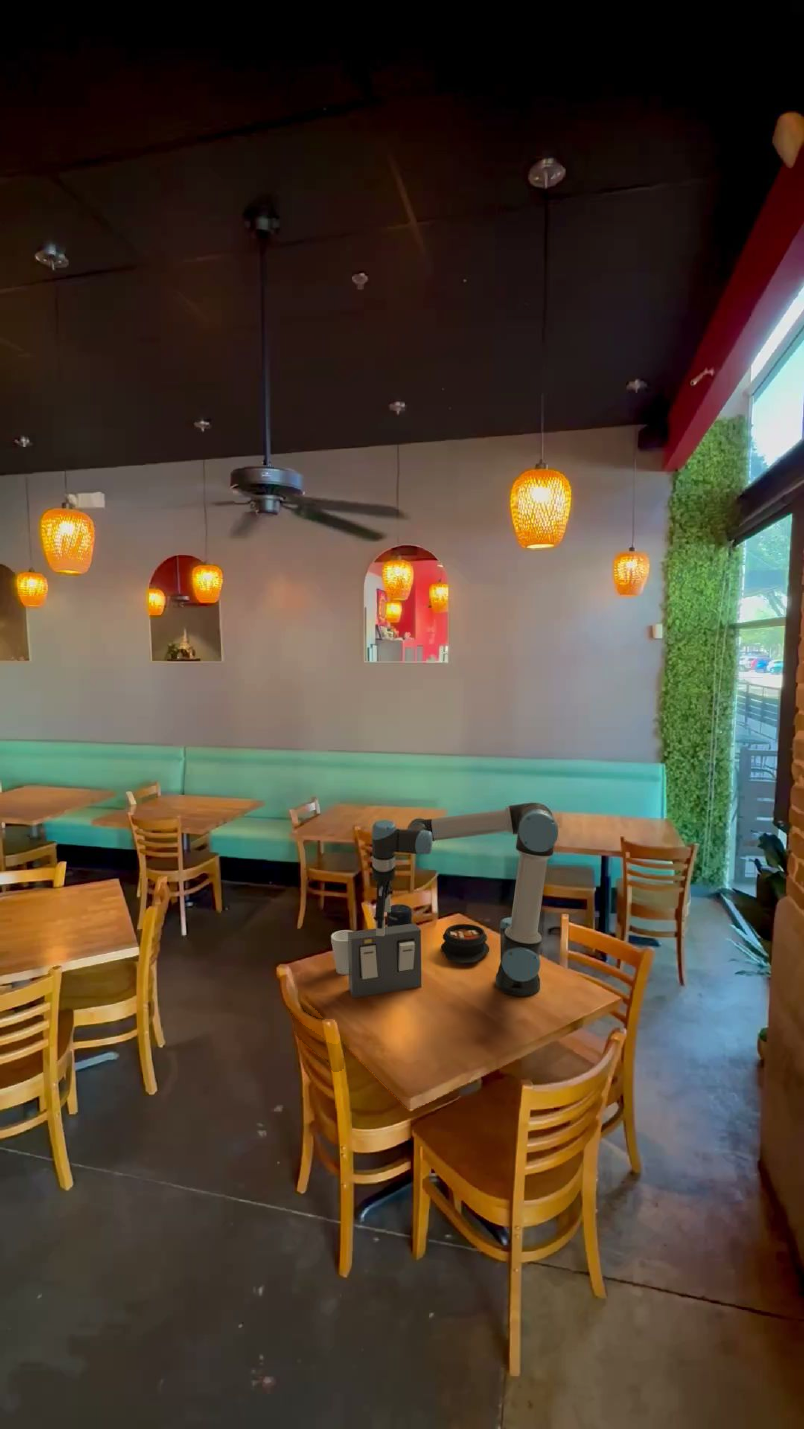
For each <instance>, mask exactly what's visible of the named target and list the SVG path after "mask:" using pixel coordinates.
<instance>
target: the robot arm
mask: <svg viewBox="0 0 804 1429" xmlns="http://www.w3.org/2000/svg"><path fill="white" fill-rule="evenodd" d="M371 830H372V832H371V854H372V855H371V856H370V859H371V861H372V862H371V863H372V864H371V866H372V868H371V876H372V879H373V880H374V881H376V882H377V883H376V891H375V892H376V898H375V899H376V900H375V912H374V916H373V920H374V921H375V929H376V936H384V935H385V927H386V924H385V923H386V922H385V921H386V920H385V913H387V912H389V913H390V912H391V906H392V904H391V903H392V902H391V898H392V897H391V896H392V895H393V894H394V890H392V881H393V880H394V879H395V877H396V853H401V854H413V855H419V856H422V855H431V853H432V851H433V850H432V849H433V842H435V841H443V840H445V841H447V840H452V839H460V838H469V837H470V838H471V837H477V836H486V835H487V836H488V835H495V834H496V835H497V834H504V833H509V834H511V835H516V843H515V844H516V845H515V850H516V851H517V853H518V854H519V857H518V866H517V872H516V873H517V874H516V880H515V888H514V897H513V903H512V911H511V917H505V918H503V919H502V920H500V926H499V929H500V933H499V936H500V937H499V938H500V940H499V941H500V945H499V946H500V947H499V948H500V962H499V966H498V969H497V973H496V974H495V981H494V983H495V987H496V988H497V989H498V991H500V992H502V993H503V994H506V995H509V996H513V997H515V996H516V997H528V996H532V995H533V996H534V994H537V993H538V992H539V991H540V989H541V978H540V975H539V972H540V969H541V960H540V951H541V946H542V938H543V937H542V935H541V934H540V933H539V932H538V931H539V930H538V929H539V924H540V915H541V909H542V908H541V907H542V903H543V895H544V888H545V885H544V884H545V881H546V880H545V878H546V874H547V866H548V865H547V863H548V860H549V858H551V857H552V856H554V851H555V844H556V842H557V840H558V838H559V826H558V821H557V820H556V819H555V817H554V816H553V813H552V812H551V810H550V808H548V807H547V806H546V805H544V804H543V803H539V802H525V803H520V804H519V803H518V804H513V805H508V806H506V808H505V809H498V810H491V811H483V812H482V811H481V812H475V813H474V812H473V813H466V814H459V815H452V816H451V815H450V816H443V817H437V818H428V819H425V818H423V817H416V818H414V819H413V820H411V822H409V824H408V826H407V829H404V828H397V827H396V824H395V822H394V821H392V820H388V819H380V820H378V821H375V822H374V824H373V825H372V829H371Z"/></svg>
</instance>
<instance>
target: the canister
mask: <svg viewBox="0 0 804 1429" xmlns="http://www.w3.org/2000/svg"><path fill="white" fill-rule="evenodd" d="M412 919H413V916H412V908H411V907H410V906H409V905H406V904H401V903H399V904H398V903H396V904H393V905H392V904H391V912H390V913H389V912H386V922H387V923H386V924H387V926H386V927H391V926H399V925H406V924H413V923H412V922H413V920H412Z"/></svg>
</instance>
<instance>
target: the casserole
mask: <svg viewBox="0 0 804 1429" xmlns="http://www.w3.org/2000/svg"><path fill="white" fill-rule="evenodd" d="M442 939H443V940H444V941H443V943H442V944H441V946H440V951H441V952H442V953H443V954H444V956H445V958H446V959H447V960H448V961H450V962H453V963H459V964H472V963H477V962H479V960H481V958H483V957H484V956H486V955H487V954H488V953H490V950H491V949H490V946H489V945H488V944H487V943H486V942H487V941H488V936H487V934H486V932H485V930H484V929H483V928H482V927H480V926H478V925H475V924H470V923H469V924H467V923H458V924H452V925H450V926H448V927H447V928H446V929H445V931H444V933H442Z"/></svg>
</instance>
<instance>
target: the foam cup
mask: <svg viewBox="0 0 804 1429" xmlns="http://www.w3.org/2000/svg"><path fill="white" fill-rule="evenodd" d="M353 931H354V930H350V929H343V930H338V931H335V932H332V934H331V935H330V942H331V946H332V952H333V959H334V965H335V971H336V973H337V974H339V975H349V965H348V932H353Z"/></svg>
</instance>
